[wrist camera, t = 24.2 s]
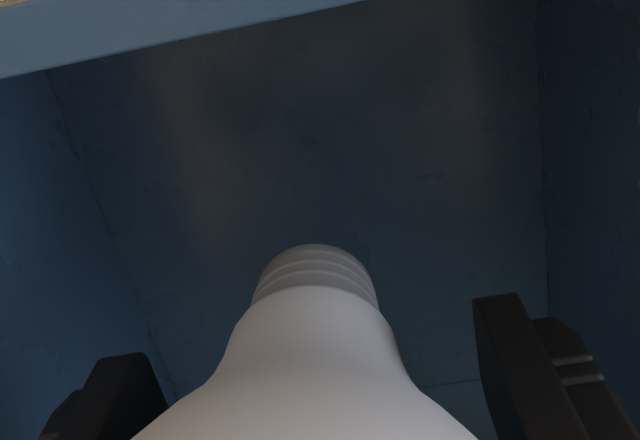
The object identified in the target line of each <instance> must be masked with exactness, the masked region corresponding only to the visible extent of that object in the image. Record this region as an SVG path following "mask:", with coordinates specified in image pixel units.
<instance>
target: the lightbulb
mask: <svg viewBox="0 0 640 440" xmlns="http://www.w3.org/2000/svg"><path fill="white" fill-rule="evenodd" d="M130 440H478V439H477V438H476V437H475V436H474V435H473V434H472V433H471V432H470V431H468V430H467V429H466V428H465V427H464V426H463V425H462V424H461V423H459V422H458V421H457V420H456V419H455V418H454V417H453V416H451V415H450V414H449V413H448V412H447V411H446V410H444V409H443V408H442V407H441V406H440V405H439V404H437V403H436V402H434V401H433V400H432V399H430V398H429V397H427V396H426V395H425V394H423V393H422V392H421V391H420V390H419V389H418V388H417V387H416V386H415V384H414V383H413V382H412V381H411V379H410V377H409V375H408V373H407V371H406V368H405V366H404V364H403V362H402V358H401V354H400V350H399V347H398V343H397V340H396V337H395V335H394V333H393V330H392V328H391V327H390V325H389V324H388V322H387V321H386V320H385V318H384V317H383V316H382V314H381V313H380V312H379V307H378V302H377V299H376V294H375V290H374V287H373V285H372V281H371V278H370V276H369V274H368V272H367V270H366V269H365V267H364V266H363V265H362V263H361V262H360V261H359V260H357V259H356V258H355V257H354V256H353V255H351V254H349V253H348V252H346V251H345V250H342V249H340V248H337V247H334V246H330V245H325V244H305V245H298V246H295V247H293V248H290V249H287V250H285V251H284V252H282V253H280V254H278V255H277V256H276V257H275V258H273V259H272V260H271V261H270V262H269V263H268V265H267V266H266V267H265V269H264V270H263V272H262V274H261V276H260V279H259V282H258V285H257V288H256V290H255V292H254V294H253V298H252V303H251V305H250V307H249V309H248V310H247V311H246V312H245V314H244V315H243V316H242V318H241V319H240V320H239V321H238V323H237V324H236V325H235V328H234V330H233V332H232V334H231V336H230V339H229V342H228V345H227V348H226V351H225V354H224V357H223V358H222V360H221V362H220V364H219V365H218V367H217V369H216V371H215V372H214V374H213V375H212V376H211V377H210V378H209V379H208V381H207V382H206V383H205V384H204V385H202V386H201V387H199V388H198V389H196V390H194V391H193V392H191V393H190V394H188V395H186V396H185V397H183V398H182V399H180V400H179V401H177V402H176V403H175V404H174V405H172V406H171V407H170V408H169V409H168V410H166V411H165V412H164V413H163V414H161V415H160V416H159V417H158V418H156V419H155V420H154V421H153V422H151V423H150V424H149V425H148V426H147V427H145V428H144V429H143V430H142V431H140V432H139V433H138V434H137V435H135V436H134V437H133V438H132V439H130Z"/></svg>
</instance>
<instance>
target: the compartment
mask: <svg viewBox="0 0 640 440" xmlns="http://www.w3.org/2000/svg"><path fill="white" fill-rule="evenodd" d="M305 244H325V245H330V246H334V247H337V248H340V249H342V250H345V251H346V252H348V253H349V254H351V255H353V256H354V257H355V258H356V259H357V260H359V261H360V262H361V263H362V265H363V266H364V267H365V269H366V270H367V272H368V274H369V276H370V278H371V281H372V285H373V287H374V290H375V294H376V299H377V302H378V307H379V312H380V313H381V314H382V316H383V317H384V318H385V320H386V321H387V322H388V324H389V325H390V327H391V328H392V330H393V333H394V335H395V337H396V340H397V343H398V347H399V350H400V354H401V358H402V362H403V364H404V366H405V368H406V371H407V373H408V375H409V377H410V379H411V381H412V382H413V383H414V384H415V386H416V387H417V388H418V389H419V390H420V391H421V392H422V393H423V394H425V395H426V396H427V397H429V398H430V399H432V400H433V401H434V402H436V403H437V404H439V405H440V406H441V407H442V408H443V409H444V410H446V411H447V412H448V413H449V414H450V415H451V416H453V417H454V418H455V419H456V420H457V421H458V422H459V423H461V424H462V425H463V426H464V427H465V428H466V429H467V430H468V431H470V432H471V433H472V434H473V435H474V436H475V437H476V438H477V439H478V440H498V437H497V434H496V431H495V428H494V424H493V421H492V418H491V415H490V412H489V409H488V406H487V403H486V399H485V396H484V391H483V387H482V382H481V377H480V371H479V364H478V355H477V346H476V337H475V328H474V319H473V310H472V299H475V298H482V297H488V296H494V295H500V294H506V293H513V292H516V293H517V294H518V296H519V298H520V300H521V302H522V304H523V306H524V308H525V310H526V312H527V314H528V316H529V318H530V320H534V319H540V318H547V317H553V316H554V317H556V318H557V319H559V320H560V321H561V322H563V323H564V324H566V325H567V326H568V327H570V328H571V329H573V330H574V331H576V332H577V333H578V334H579V335H580V337H581V339H582V340H583V342H584V344H585V345H586V347H587V349H588V350H589V352H590V354H591V355H592V359H593V361H595V362H596V363H597V365H598V367H599V368H600V370H601V372H602V373H603V375H604V379H605V380H607V382H608V383H609V385H610V387H611V388H612V390H613V392H614V393H615V395H616V397H617V398H618V400H619V402H620V403H621V405H622V407H623V408H624V410H625V412H626V413H627V415H628V417H629V418H630V420H631V421H632V423H633V425H634V426H635V428H636V430H637V431H638V433H639V435H640V0H3V1H0V440H39V438H38V437H39V435H40V433H41V432H42V430H43V428H44V426H45V425H46V423H47V421H48V419H49V417H50V416H51V414H52V412H53V411H54V410H55V409H56V408H57V407H58V406H59V405H60V404H61V403H62V402H63V401H64V400H65V399H66V398H67V397H68V396H69V395H70V394H71V393H72V392H73V391H74V390H80V389H83V387H84V385H85V383H86V381H87V379H88V377H89V375H90V373H91V371H92V369H93V368H94V366H95V364H96V362H97V361H98V360H99V359H101V358H104V357H110V356H117V355H123V354H129V353H135V352H143V353H144V354H145V355H146V356H147V357H148V359H149V361H150V363H151V366H152V368H153V371H154V373H155V375H156V378H157V380H158V383H159V385H160V387H161V390H162V392H163V394H164V397H165V399H166V402H167V404H168V406H169V408H170V407H171V406H172V405H174V404H175V403H176V402H177V401H179V400H180V399H182V398H183V397H185V396H186V395H188V394H190V393H191V392H193V391H194V390H196V389H198V388H199V387H201V386H202V385H204V384H205V383H206V382H207V381H208V379H209V378H210V377H211V376H212V375H213V374H214V372H215V371H216V369H217V367H218V365H219V364H220V362H221V360H222V358H223V357H224V354H225V351H226V348H227V345H228V342H229V339H230V336H231V334H232V332H233V330H234V328H235V325H236V324H237V323H238V321H239V320H240V319H241V318H242V316H243V315H244V314H245V312H246V311H247V310H248V309H249V307H250V305H251V303H252V298H253V294H254V292H255V290H256V288H257V285H258V282H259V279H260V276H261V274H262V272H263V270H264V269H265V267H266V266H267V265H268V263H269V262H270V261H271V260H272V259H273V258H275V257H276V256H277V255H278V254H280V253H282V252H284V251H285V250H287V249H290V248H293V247H295V246H298V245H305Z"/></svg>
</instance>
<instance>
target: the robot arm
mask: <svg viewBox="0 0 640 440" xmlns="http://www.w3.org/2000/svg"><path fill="white" fill-rule="evenodd" d="M472 310H473V319H474V328H475V337H476V346H477V355H478V364H479V371H480V377H481V382H482V387H483V391H484V396H485V399H486V403H487V406H488V409H489V412H490V415H491V418H492V421H493V424H494V428H495V431H496V434H497V437H498V440H640V435H639V433H638V431H637V430H636V428H635V426H634V425H633V423H632V421H631V420H630V418H629V417H628V415H627V413H626V412H625V410H624V408H623V407H622V405H621V403H620V402H619V400H618V398H617V397H616V395H615V393H614V392H613V390H612V388H611V387H610V385H609V383H608V382H607V380H605V379H604V375H603V373H602V372H601V370H600V368H599V367H598V365H597V363H596V362H595V361H593V359H592V355H591V354H590V352H589V350H588V349H587V347H586V345H585V344H584V342H583V340H582V339H581V337H580V335H579V334H578V333H577V332H576V331H574V330H573V329H571V328H570V327H568V326H567V325H566V324H564V323H563V322H561V321H560V320H559V319H557V318H556V317H554V316H553V317H547V318H540V319H534V320H530V318H529V316H528V314H527V312H526V310H525V308H524V306H523V304H522V302H521V300H520V298H519V296H518V294H517V293H516V292H513V293H506V294H500V295H494V296H488V297H482V298H475V299H472ZM168 409H169V406H168V404H167V402H166V399H165V397H164V394H163V392H162V390H161V387H160V385H159V383H158V380H157V378H156V375H155V373H154V371H153V368H152V366H151V363H150V361H149V359H148V357H147V356H146V355H145V354H144V353H143V352H135V353H129V354H123V355H117V356H110V357H104V358H101V359H99V360H98V361H97V362H96V364H95V366H94V368H93V369H92V371H91V373H90V375H89V377H88V379H87V381H86V383H85V385H84V387H83V389H80V390H74V391H73V392H72V393H71V394H70V395H69V396H68V397H67V398H66V399H65V400H64V401H63V402H62V403H61V404H60V405H59V406H58V407H57V408H56V409H55V410H54V411H53V412H52V414H51V416H50V417H49V419H48V421H47V423H46V425H45V426H44V428H43V430H42V432H41V433H40V435H39V437H38V438H39V440H130V439H132V438H133V437H134V436H135V435H137V434H138V433H139V432H140V431H142V430H143V429H144V428H145V427H147V426H148V425H149V424H150V423H151V422H153V421H154V420H155V419H156V418H158V417H159V416H160V415H161V414H163V413H164V412H165V411H166V410H168Z"/></svg>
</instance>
